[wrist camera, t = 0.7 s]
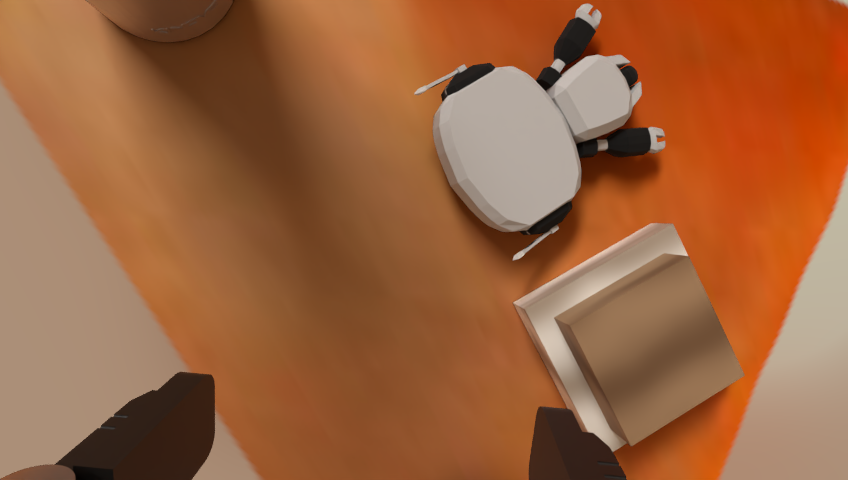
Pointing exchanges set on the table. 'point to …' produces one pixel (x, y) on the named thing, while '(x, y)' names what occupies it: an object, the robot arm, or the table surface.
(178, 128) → the table surface
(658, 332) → the plinth
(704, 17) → the table surface
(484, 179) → the robot toy
